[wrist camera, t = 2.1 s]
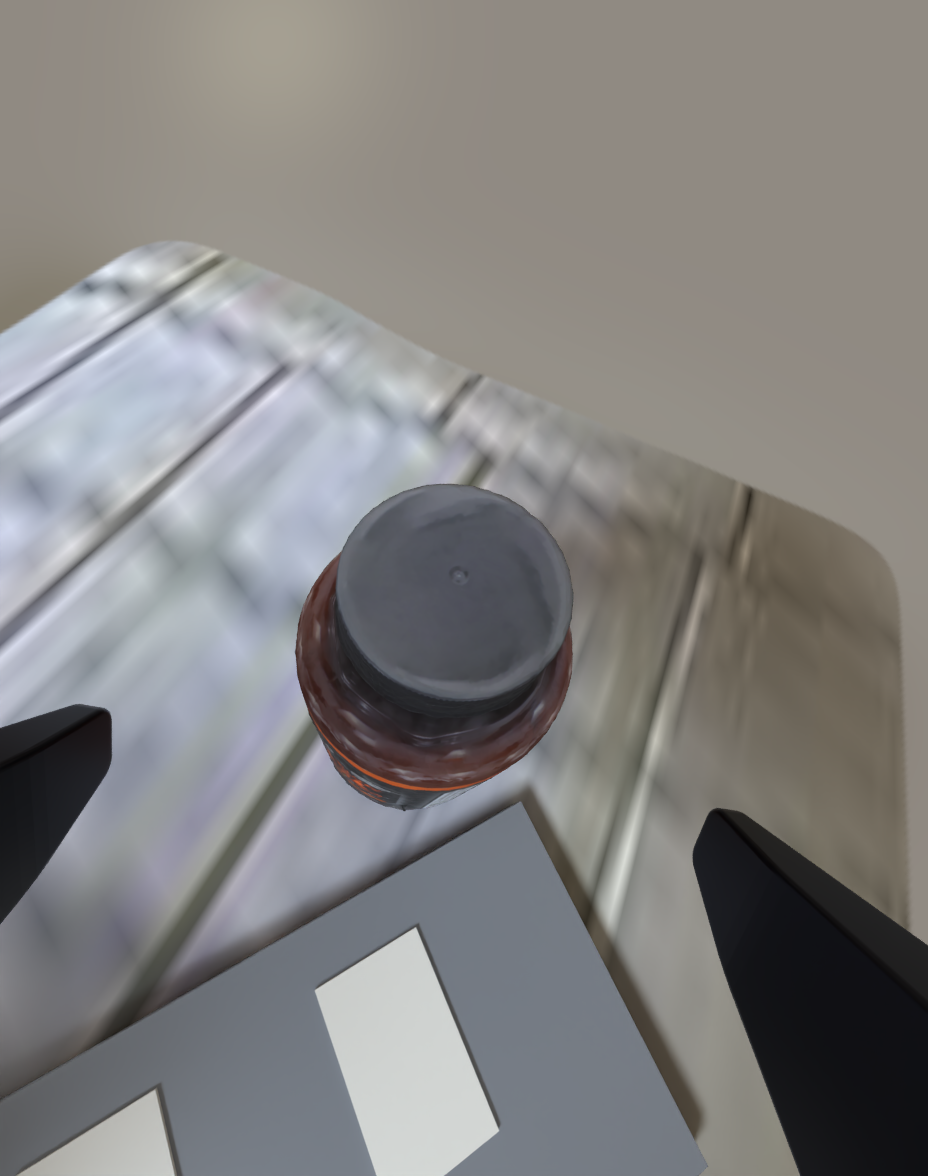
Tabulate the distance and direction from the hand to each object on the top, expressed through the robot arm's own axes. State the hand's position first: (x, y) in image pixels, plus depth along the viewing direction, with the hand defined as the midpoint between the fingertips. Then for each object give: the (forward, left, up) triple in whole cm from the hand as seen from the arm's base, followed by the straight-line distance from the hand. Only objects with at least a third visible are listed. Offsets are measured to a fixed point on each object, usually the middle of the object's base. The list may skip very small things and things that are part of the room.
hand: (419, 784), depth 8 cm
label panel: (-6, +4, -10) cm, 13 cm away
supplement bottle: (+3, -2, -11) cm, 11 cm away
